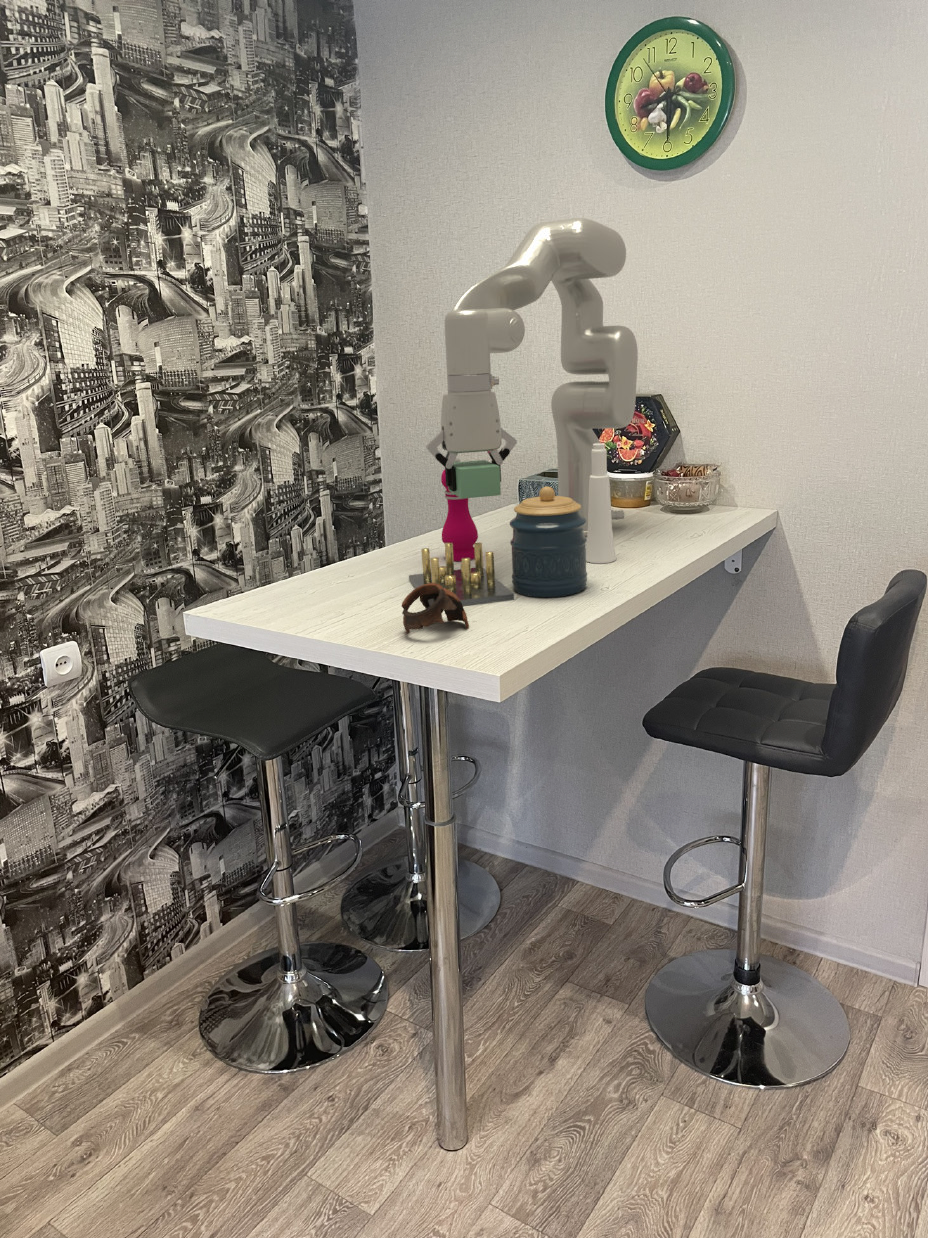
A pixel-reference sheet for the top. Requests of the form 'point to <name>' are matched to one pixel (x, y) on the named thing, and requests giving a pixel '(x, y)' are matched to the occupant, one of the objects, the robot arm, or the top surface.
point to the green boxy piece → (477, 479)
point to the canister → (548, 546)
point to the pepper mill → (459, 525)
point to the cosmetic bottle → (599, 510)
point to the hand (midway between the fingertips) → (473, 487)
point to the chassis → (464, 577)
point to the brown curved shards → (432, 607)
